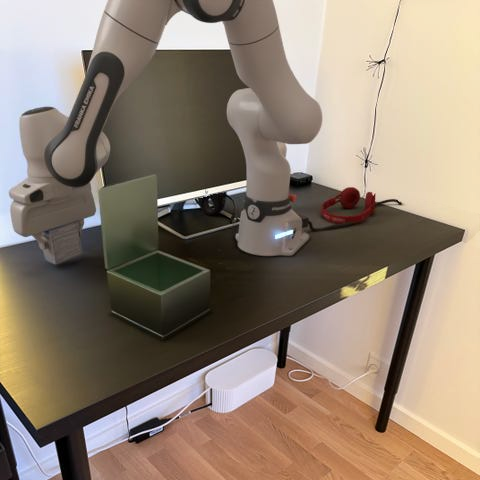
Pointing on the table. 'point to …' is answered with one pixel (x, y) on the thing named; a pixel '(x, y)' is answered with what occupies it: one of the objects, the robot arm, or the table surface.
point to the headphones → (349, 206)
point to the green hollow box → (159, 293)
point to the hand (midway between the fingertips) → (61, 242)
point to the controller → (217, 201)
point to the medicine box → (62, 243)
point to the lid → (129, 219)
